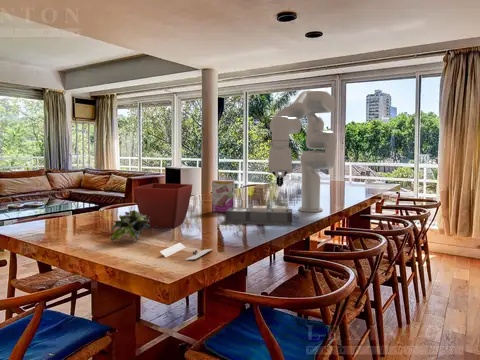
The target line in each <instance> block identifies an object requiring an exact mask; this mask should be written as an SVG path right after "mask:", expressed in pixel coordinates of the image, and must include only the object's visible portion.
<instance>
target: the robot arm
mask: <svg viewBox="0 0 480 360" xmlns="http://www.w3.org/2000/svg"><path fill="white" fill-rule="evenodd" d="M335 108H336V100H335V98H334V96H333V95H331V94H330V92H328V91H326V90H325V89H321V88H320V89H311V90H303V91H302V92H300V93H299V95H298V96H297V98H296V99H295V100H294V101H293V103H292V104H290V105H287V106H286V107H284V108H283V109H281V110H278V112H276V113H275V114H274V115H273V117H272V118H271V120H270V123H269V129H270V130H269V131H270V132H271V141H268V146H271V147H269V152H268V166H267V168H268V169H267V173H269V174H271V175H273V176H274V177H275V178H276V179H275V180H276V186H277V187H278V188H279V187H280V188H281V187H282V185H284V177H286V175H288V174H292V173H293V169H292V168H293V165H292V164H293V161H292V160H293V159H292V157H293V156H292V148H291V147H290V135H295V134H298V133H300V131H301V129H302V121H301V119H304V118H306V120H307V128H306V136H305V137H306V138H305V146H306V148H308V149H311V150H306V151H303V152H302V153H301V154H300V159H299V160H300V166H301V206H299V207H298V211H300V212H305V213H317V212H322V211H323V210H324V209H323V207H321V201H320V200H321V175H320V174H319V172H318V170H331V169H332V168H333V167H334V164H335V160H336V159H335V158H336V150H337V140H338V139H337V135H336V133H335V132H334V131H331V130H324V129H325V127H324V126H325V121H324V120H323V118H322V117H321V116H320V115H319V114H326V113H327V114H328V113H332V112H333V111H335ZM279 171H281V175H279V174H280V173H279ZM323 212H324V211H323Z"/></svg>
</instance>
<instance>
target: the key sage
mask: <svg viewBox="0 0 480 360" xmlns="http://www.w3.org/2000/svg"><path fill="white" fill-rule="evenodd" d="M272 209H273V212H287V209H288V208H287V206H283V205H282V206H279V205H278V206H276V205H273V206H272Z"/></svg>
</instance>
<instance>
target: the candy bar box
mask: <svg viewBox="0 0 480 360" xmlns="http://www.w3.org/2000/svg"><path fill="white" fill-rule="evenodd" d="M211 181H212V182H211V183H212V184H211V188H212V189H211V193H212V194H211V204H212V205H211V212H212V213H226V211H227V210H228V209H229V208H230V207H232V208H235V180H232V179H230V180H229V179H228V180H227V179H226V180H225V179H212V180H211Z"/></svg>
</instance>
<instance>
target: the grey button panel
mask: <svg viewBox="0 0 480 360" xmlns="http://www.w3.org/2000/svg"><path fill="white" fill-rule="evenodd" d="M233 209H247V211H232V210H233ZM224 224H240V225H268V226H269V225H273V226H293V208H287V212H273V208H271V207H270V208H268V207H267V212H261V211H252V207H234V208H232V207H230V208H229V209H228V210H227V211H226V212H225V220H224Z"/></svg>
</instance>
